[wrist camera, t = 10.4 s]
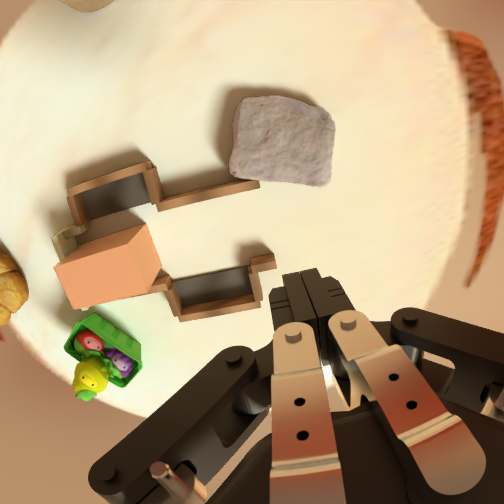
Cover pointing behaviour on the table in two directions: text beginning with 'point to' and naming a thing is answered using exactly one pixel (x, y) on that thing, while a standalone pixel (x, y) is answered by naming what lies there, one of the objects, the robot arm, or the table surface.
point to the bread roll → (10, 289)
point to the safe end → (64, 247)
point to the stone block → (282, 141)
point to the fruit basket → (101, 356)
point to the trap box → (150, 190)
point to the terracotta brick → (110, 268)
